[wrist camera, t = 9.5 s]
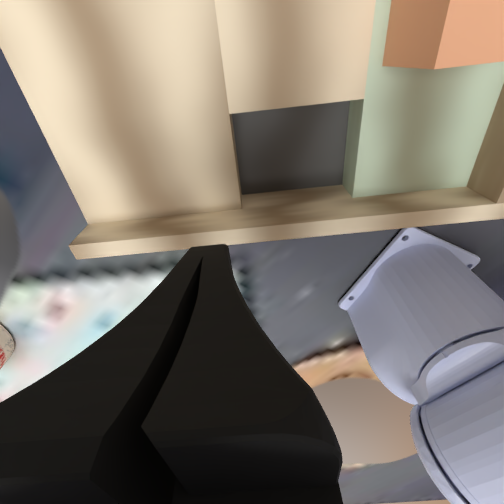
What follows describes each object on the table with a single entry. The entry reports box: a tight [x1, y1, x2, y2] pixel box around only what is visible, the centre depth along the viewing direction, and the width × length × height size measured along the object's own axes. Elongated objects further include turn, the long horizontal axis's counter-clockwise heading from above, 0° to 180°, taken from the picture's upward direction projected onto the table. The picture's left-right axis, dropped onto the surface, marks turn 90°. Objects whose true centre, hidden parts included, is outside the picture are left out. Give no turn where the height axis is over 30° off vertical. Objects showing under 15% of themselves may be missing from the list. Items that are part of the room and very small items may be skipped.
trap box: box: [0, 0, 504, 259], centre depth 12 cm, size 25×20×5 cm
